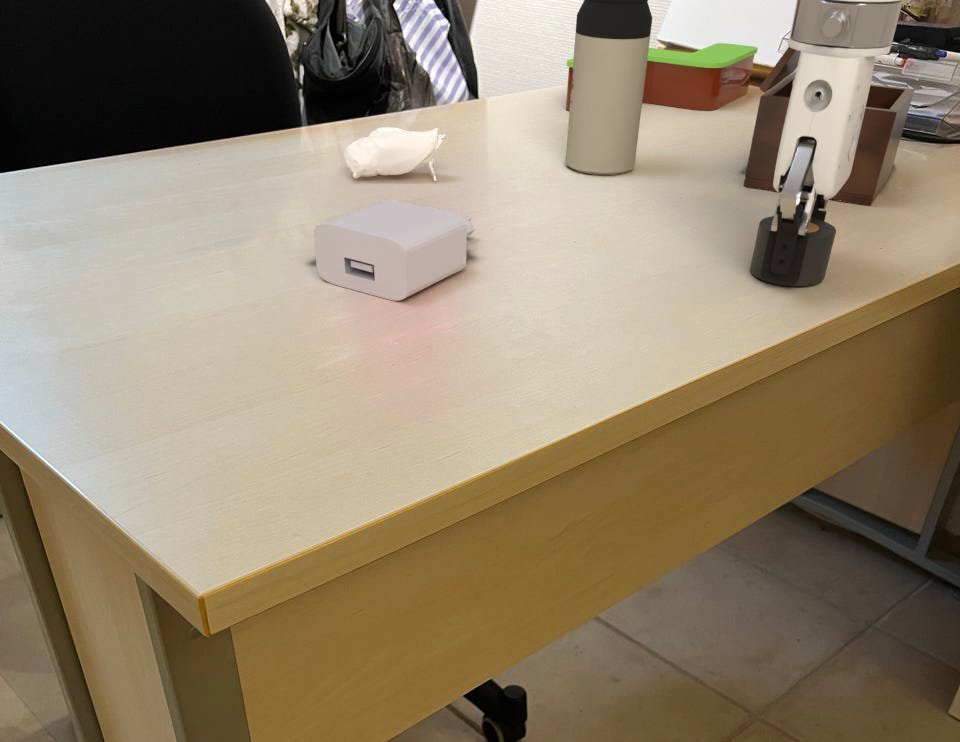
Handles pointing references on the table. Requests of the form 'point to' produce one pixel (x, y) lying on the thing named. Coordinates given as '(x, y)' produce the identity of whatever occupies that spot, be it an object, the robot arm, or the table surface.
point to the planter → (694, 76)
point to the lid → (782, 69)
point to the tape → (814, 255)
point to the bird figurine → (392, 152)
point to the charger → (392, 248)
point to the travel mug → (607, 85)
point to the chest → (872, 148)
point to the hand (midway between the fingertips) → (788, 266)
